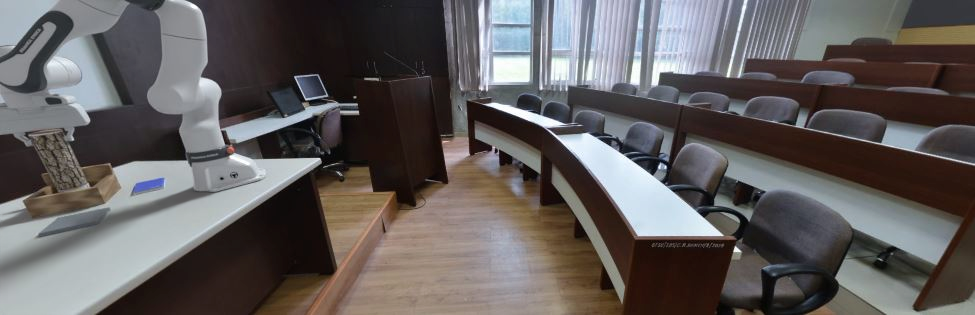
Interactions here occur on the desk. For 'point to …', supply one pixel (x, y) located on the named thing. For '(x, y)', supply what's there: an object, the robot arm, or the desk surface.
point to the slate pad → (75, 221)
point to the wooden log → (59, 160)
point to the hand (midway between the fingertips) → (51, 143)
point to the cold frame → (74, 193)
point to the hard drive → (149, 186)
